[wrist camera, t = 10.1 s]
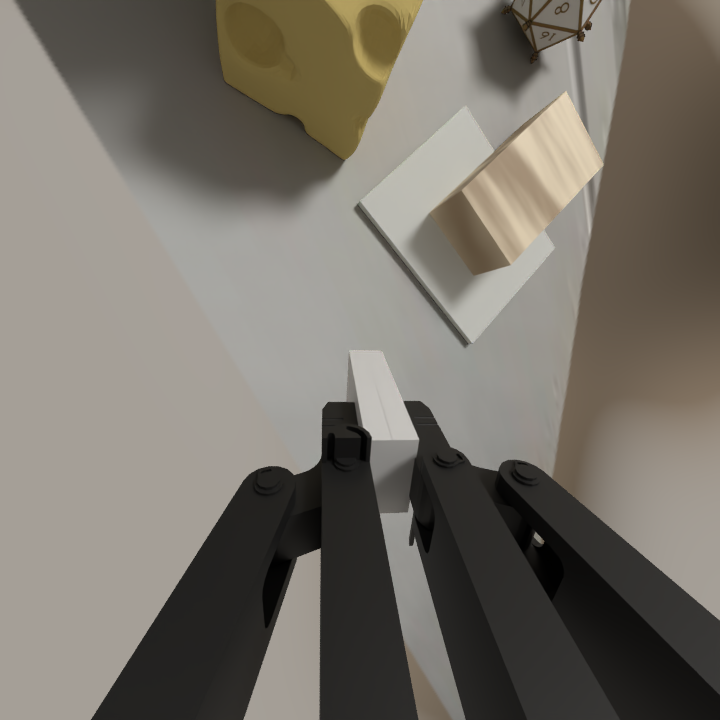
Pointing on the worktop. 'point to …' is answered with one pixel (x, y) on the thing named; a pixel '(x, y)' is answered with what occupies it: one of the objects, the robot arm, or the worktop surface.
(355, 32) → the cheese
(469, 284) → the rubber mat
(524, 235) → the maple block
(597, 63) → the worktop surface
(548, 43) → the game die
